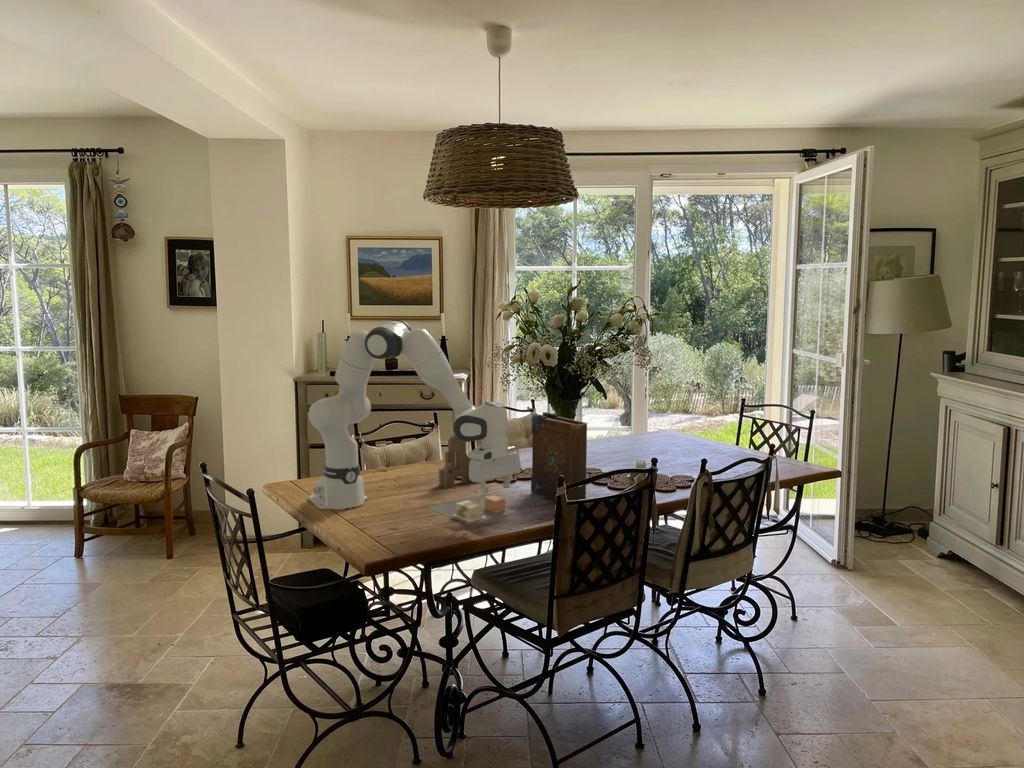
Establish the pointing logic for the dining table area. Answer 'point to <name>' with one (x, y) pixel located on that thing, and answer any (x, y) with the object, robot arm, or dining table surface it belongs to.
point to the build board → (450, 511)
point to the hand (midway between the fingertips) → (495, 490)
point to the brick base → (469, 510)
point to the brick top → (495, 504)
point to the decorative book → (558, 455)
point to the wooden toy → (461, 463)
